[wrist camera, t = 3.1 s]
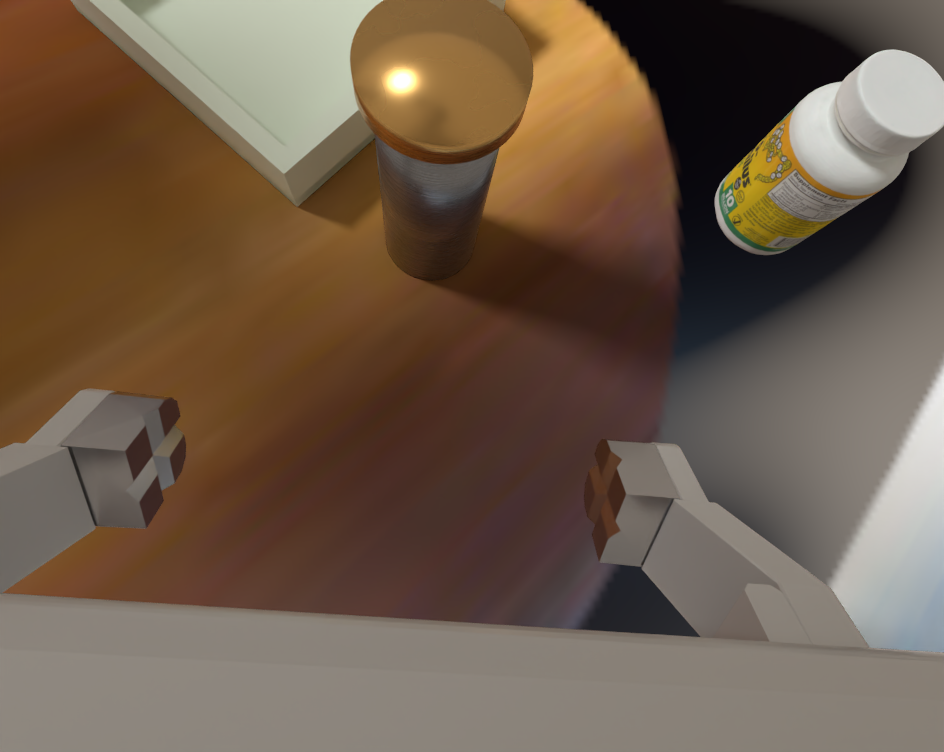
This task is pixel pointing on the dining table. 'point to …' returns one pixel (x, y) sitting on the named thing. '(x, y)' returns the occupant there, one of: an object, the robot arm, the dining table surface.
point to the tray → (255, 75)
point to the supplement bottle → (831, 153)
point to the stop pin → (438, 119)
